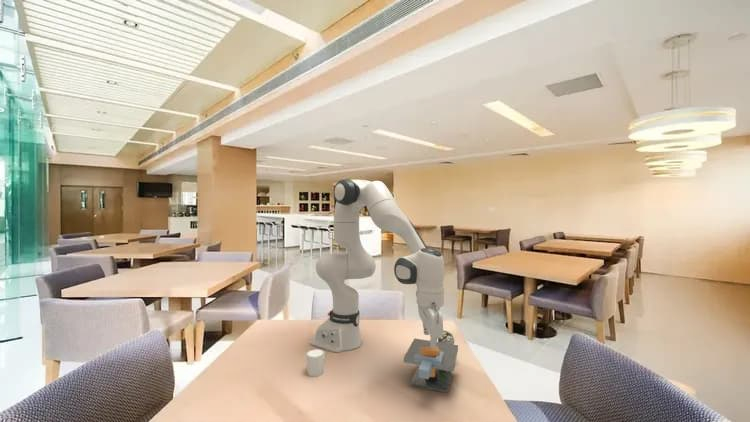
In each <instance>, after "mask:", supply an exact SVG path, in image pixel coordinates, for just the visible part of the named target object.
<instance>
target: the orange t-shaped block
mask: <svg viewBox="0 0 750 422" xmlns="http://www.w3.org/2000/svg"><path fill="white" fill-rule="evenodd" d="M420 353H421V356H428V357H434V358H435V356H440V350H439V348H438V347H436V348H431V347H420ZM430 377H435V368H432V371H431V374H430Z"/></svg>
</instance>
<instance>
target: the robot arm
mask: <svg viewBox="0 0 750 422" xmlns="http://www.w3.org/2000/svg"><path fill="white" fill-rule="evenodd" d="M333 196H334V200H335V201H336V202H335V204H334V205H335V207H334V212H333V240H334V241H335V242H336V243H337V244H338V245H339V246H342V247H344V248H345V249H347V252H346V253H329V254H326V255H322V256H320V257H319V258H318V259H317V261H316V264H315V271H316V274H317V276H318V277H319V278H320V279H322V280H323V281H324V282H325V283H326V284H327V286H328V287H329V289H330V292H331V296H332V309H331V310H330V311H329V312H328V313H327V317H329V318H328V319H327V320H325V321H323V323H321V324H320V325H319V326H318V327H317V329H316V332H315V335H313V336H312V337H311V339H310V342H309V344H310V345H311V346H314V347H317V348H319V349H322V350H327V351H330V352H332V353H340V352H344V351H351V350H352V351H353V350H355V349H358V348H359V347H361V345H362V344H363V342H362V341H363V340H362V338H361V332H360V319H361V318H360V310H359V305H360V303H359V302H360V301H359V297H360V295H359V292H358V291H357V290H356V289H355V288H354V287H352V286H350V285H348V284H346V283H345V281H346V280H362V279H365V278H370V277H372V276H373V275H374V274H375V271H376V267H377V266H376V260H375V258H374V257H373V256H372V255H371V254H370V253H369V252H367V251H366V250H365V248H364V246H363V244H362V242H361V236H360V235H361V234H360V211H361V209H362V208H365V209H367V211H368V214H369V216H370V219H371V220H372V222H373V223H374V225H375V226H376V228H378V229H381V230H382V231H386V232H389V233H392V234H395V235H396V236H399V237H400V238H401V239H403V241H404V243H405V244H406V246H407V247H408V249H409V251H410V253H411V254H409V255H405V256H402V257H401V256H400V257H399V258H397V260H395V263H394V264H393V265H394V267H393V271H394V272H393V273H394V277H395V278H396V280H397V281H398V282H399V283H401V284H403V285H415V286H416V292H415V296H416V304H417V311H418V316H419V319H420V320H421V321H422V322H421V323H422V328H423V331H422V333H423V334H424V335H425V336H429V337H430V339H429V341H430V346H431V348H436V342H438V338H442V337H443V330H444V319H443V313H442V311H441V307H443V306H444V305H445V288H444V280H445V259H444V256H443V254H442V252H441V251H439V250H438V249H435V248H429V247H428V246H427V245H426V242H425V241H424V240H423V239H422V238H423V237H421V235H420V234H419V232H418V230H417V229H416V227H415V226H414V224H413V223H412V221H411V220H410V219H409V218H408V217H407V216H406V215H405V214H404V213H403V211H402V210H401V209H400V207H399V206H398V203H397V202H396V199H395V198H394V196H393V194H392V193H391V191H390V190H389V188H388V187H387V185H386V184H385V183H384V182H382V181H380V180H366V179H361V178H360V179H348V178H344V179H340V180H339V181H337V182H336V184H335V185H334V188H333Z"/></svg>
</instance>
